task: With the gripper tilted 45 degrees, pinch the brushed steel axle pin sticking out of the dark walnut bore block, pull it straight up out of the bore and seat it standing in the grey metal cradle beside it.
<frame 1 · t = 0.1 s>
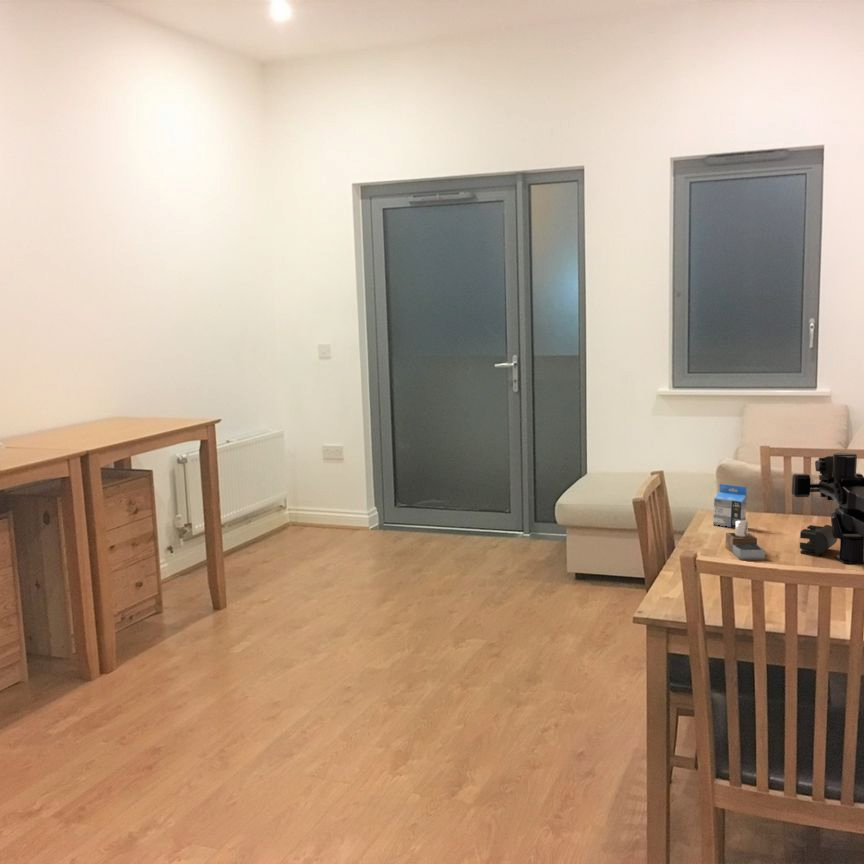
hand: (815, 479, 260), 17 cm above the table, tool horizontal, fingers open, 9 cm apart
bore block: (740, 549, 249), on the table
axle pin: (740, 550, 249), resting in bore block
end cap: (818, 552, 246), on the table
label tape box: (729, 526, 277), on the table
cradle: (748, 556, 243), on the table
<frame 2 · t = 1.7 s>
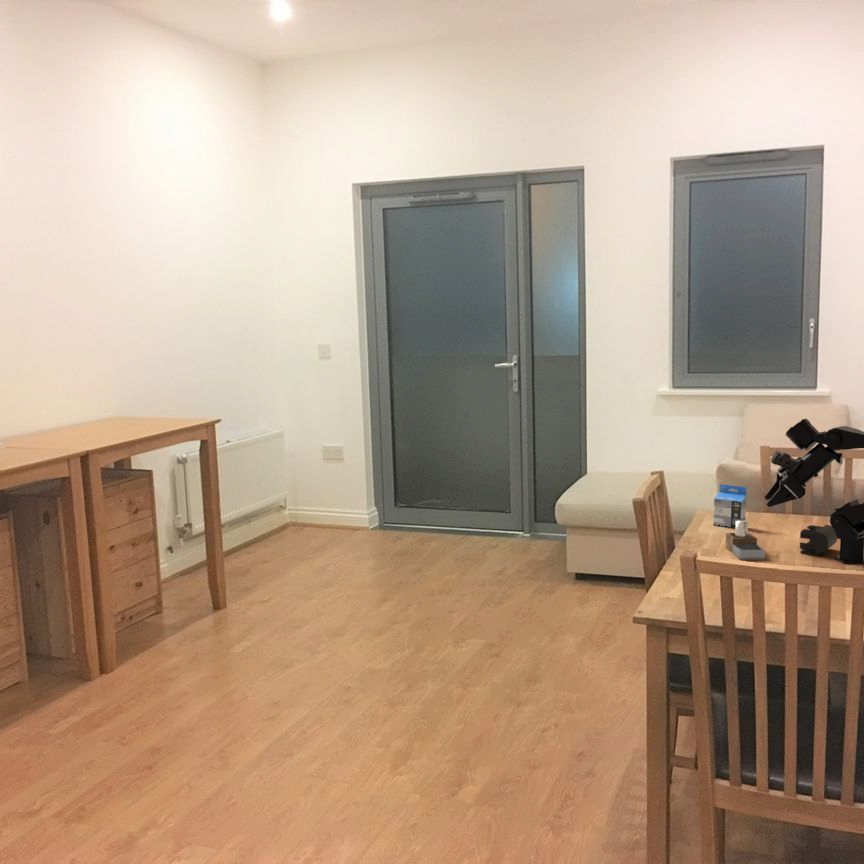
hand: (766, 502, 246), 14 cm above the table, tool tilted 45°, fingers open, 9 cm apart
nothing on the table moved.
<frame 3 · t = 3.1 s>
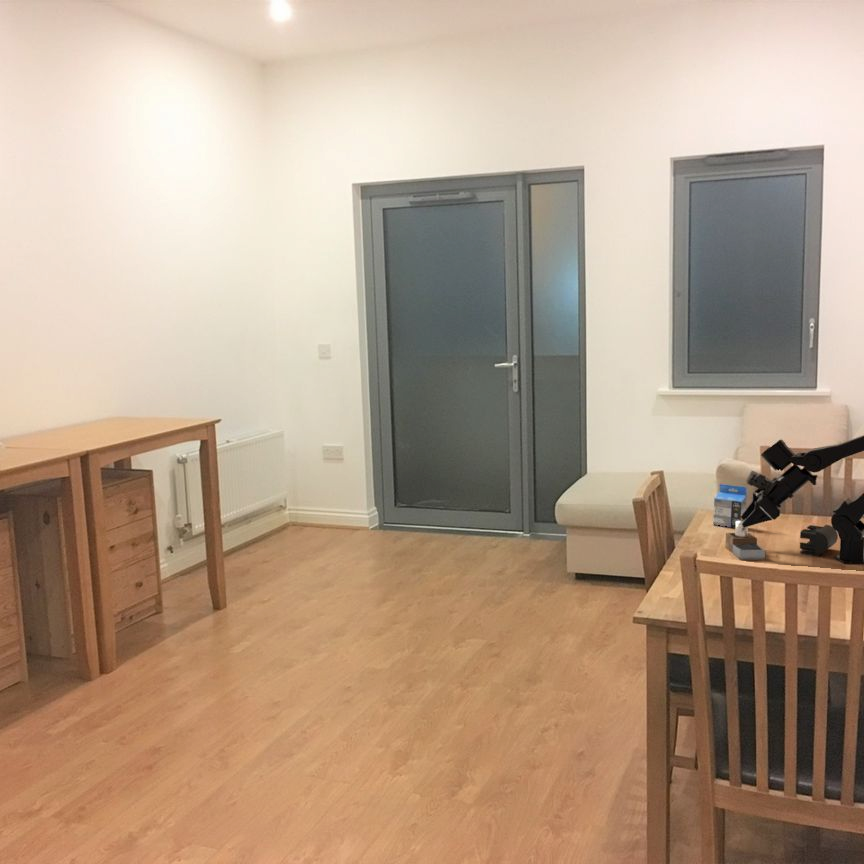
hand: (742, 522, 248), 8 cm above the table, tool tilted 45°, fingers open, 9 cm apart
nothing on the table moved.
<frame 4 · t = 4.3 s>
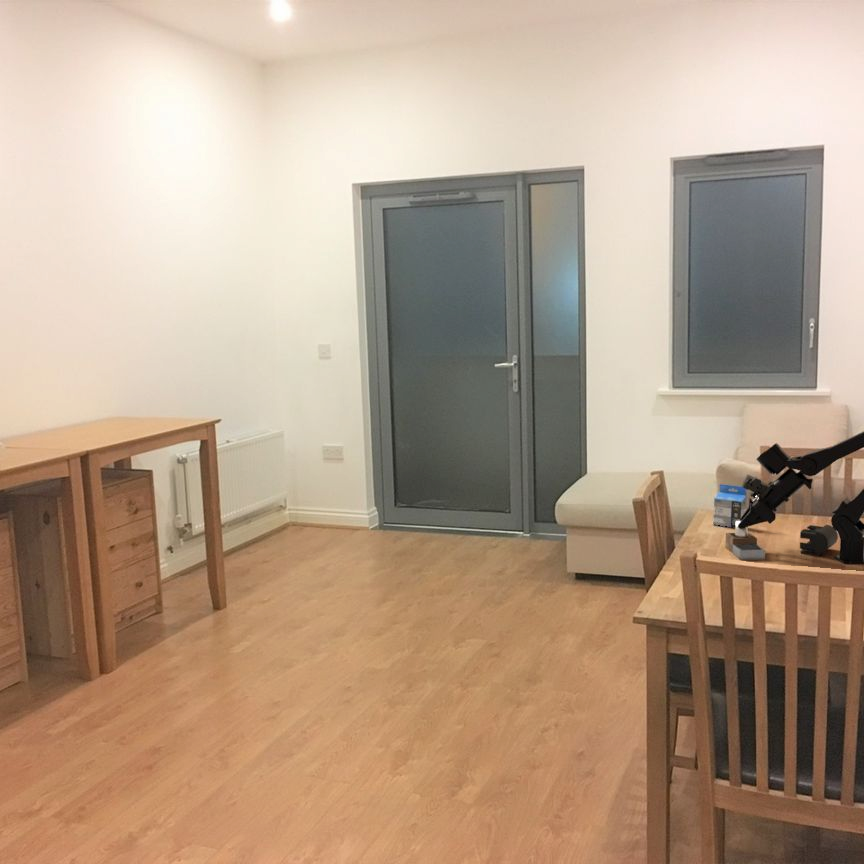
hand: (738, 526, 248), 7 cm above the table, tool tilted 45°, fingers closed on axle pin, 3 cm apart
axle pin: (740, 550, 249), resting in bore block, touching gripper
everything else where it was.
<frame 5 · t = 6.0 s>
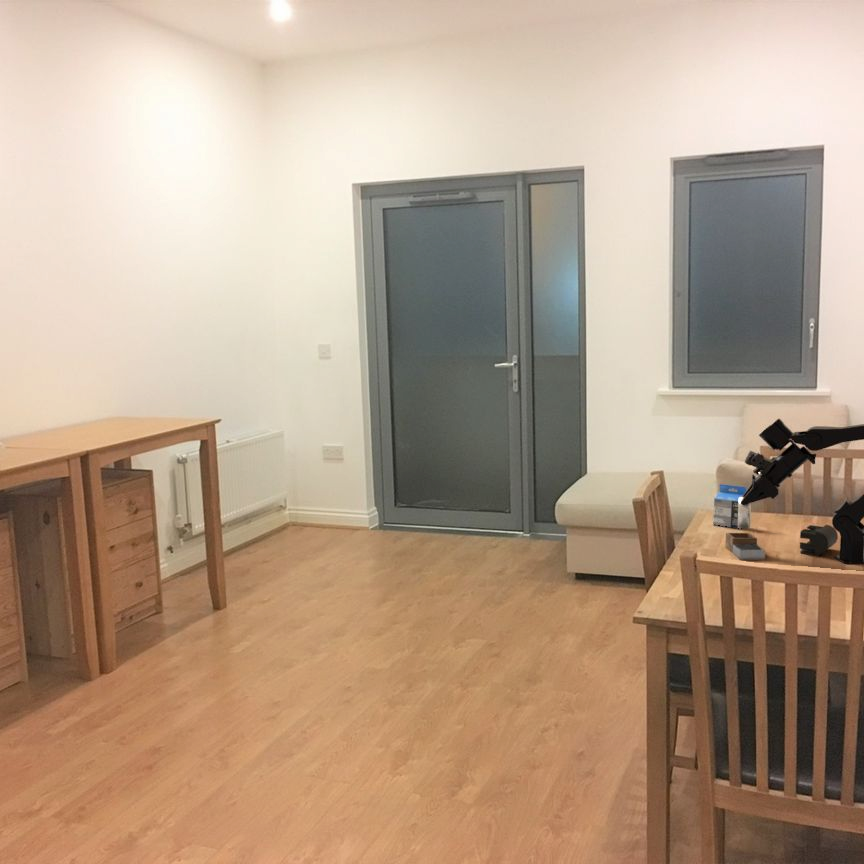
hand: (741, 502, 246), 13 cm above the table, tool tilted 45°, fingers closed on axle pin, 3 cm apart
axle pin: (743, 526, 247), point 7 cm above the table, touching gripper
everything else where it was.
when the fingers open (8 cm above the table, at t = 8.1 s): axle pin stays where it is, resting on cradle.
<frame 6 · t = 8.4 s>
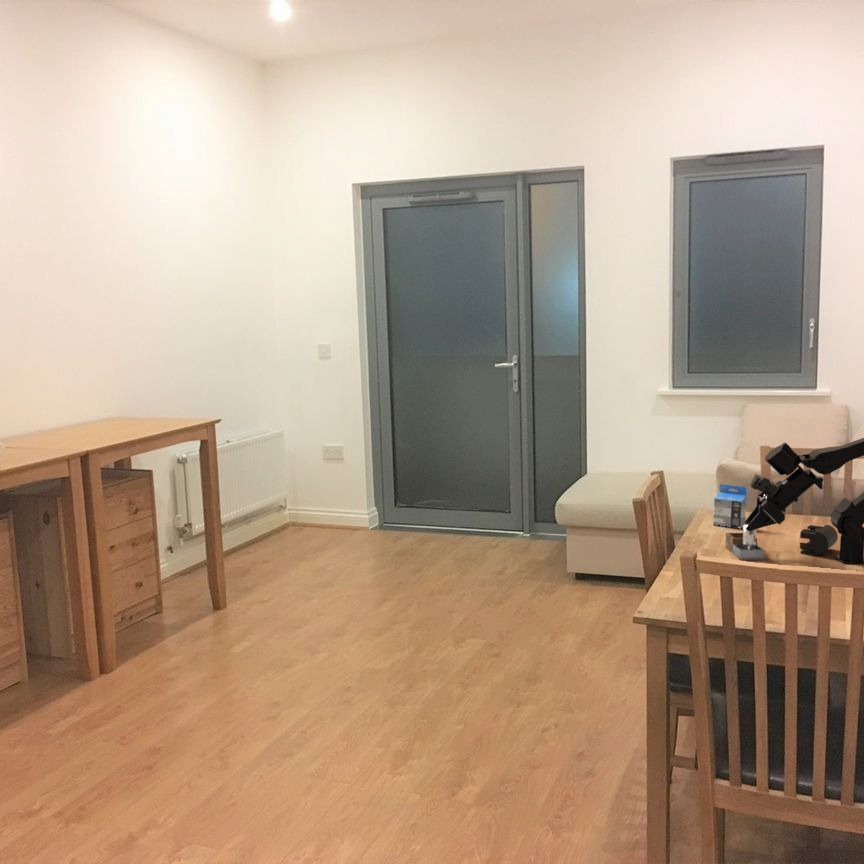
hand: (746, 526, 242), 8 cm above the table, tool tilted 45°, fingers open, 7 cm apart
axle pin: (748, 554, 243), resting on cradle
everything else where it was.
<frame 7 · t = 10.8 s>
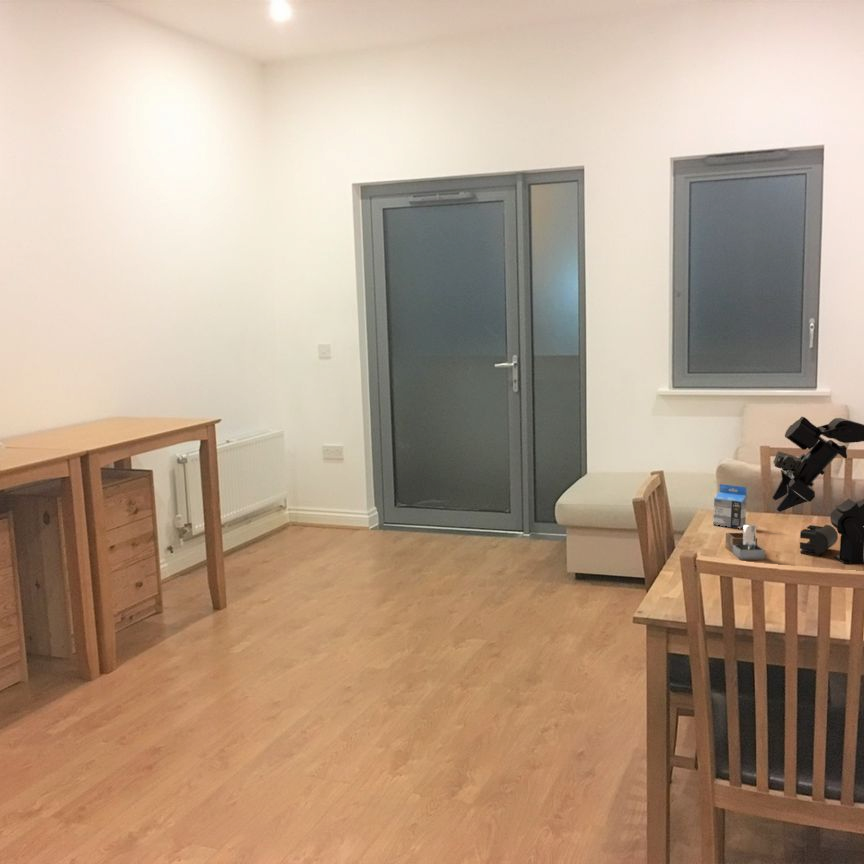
hand: (775, 504, 241), 14 cm above the table, tool tilted 35°, fingers open, 9 cm apart
nothing on the table moved.
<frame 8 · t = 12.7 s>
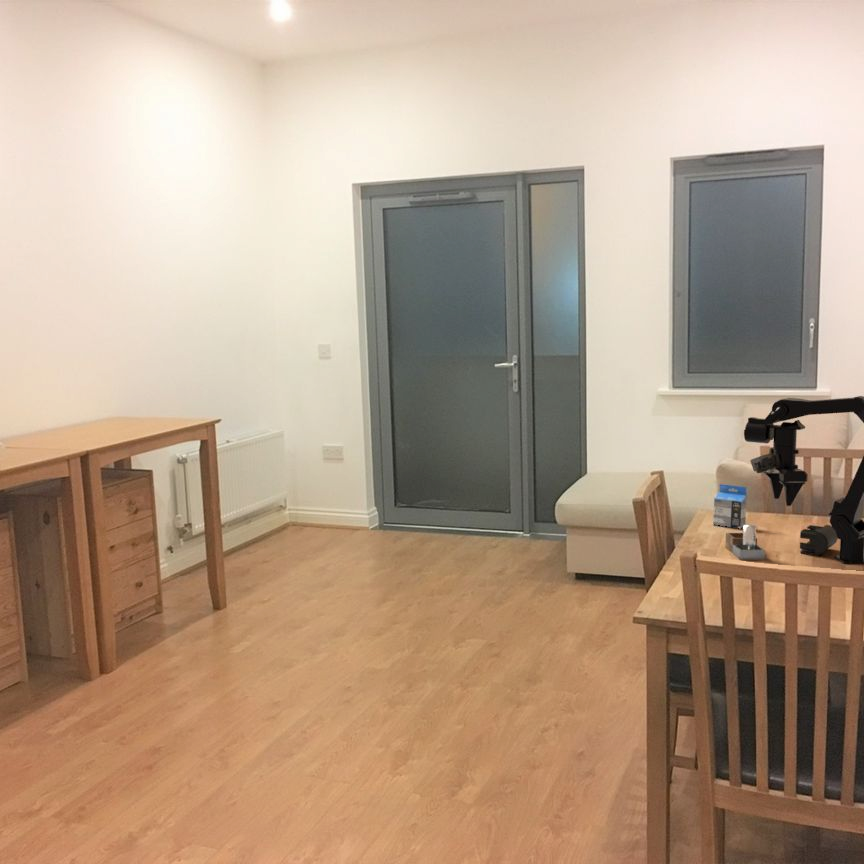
hand: (782, 502, 248), 13 cm above the table, tool pointing down, fingers open, 9 cm apart
nothing on the table moved.
at the end: axle pin 0.1 cm off-centre on the cradle, point 0.4 cm above the cradle's base; axle pin tilted 0°; the gripper is holding nothing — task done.
